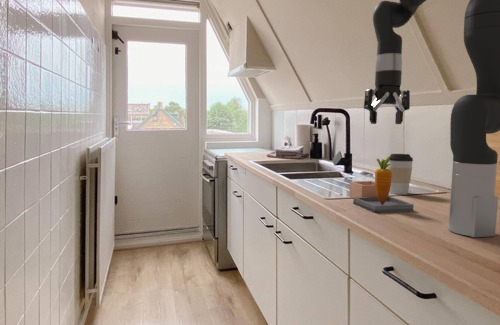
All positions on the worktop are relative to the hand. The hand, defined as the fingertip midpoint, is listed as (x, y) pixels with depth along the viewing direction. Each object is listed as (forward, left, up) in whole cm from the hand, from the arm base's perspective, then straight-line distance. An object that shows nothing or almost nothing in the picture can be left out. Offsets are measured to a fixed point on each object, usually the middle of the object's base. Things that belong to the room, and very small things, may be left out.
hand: (386, 124), depth 118 cm
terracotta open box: (+13, -2, -26) cm, 29 cm away
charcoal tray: (0, 0, -26) cm, 26 cm away
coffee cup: (+21, -20, -26) cm, 39 cm away
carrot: (0, 0, -26) cm, 26 cm away
